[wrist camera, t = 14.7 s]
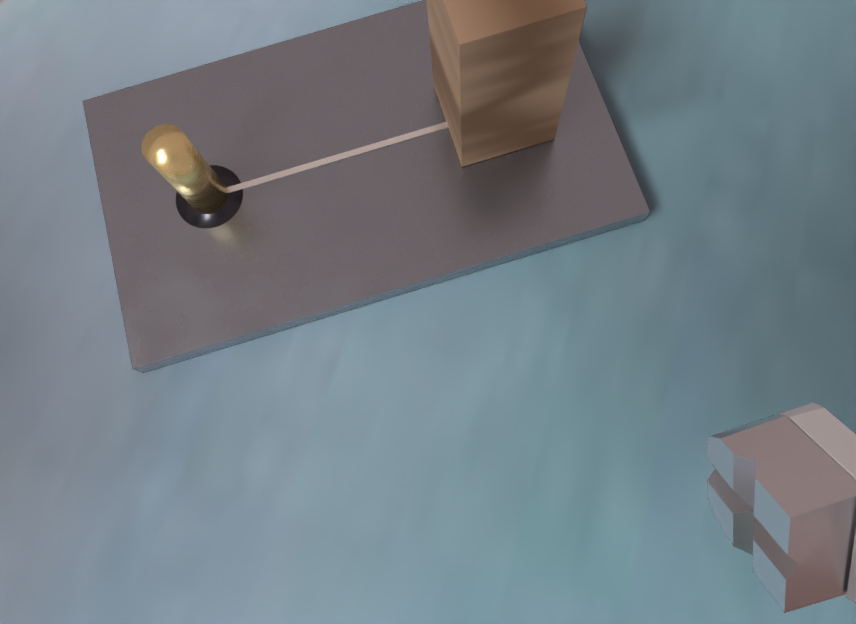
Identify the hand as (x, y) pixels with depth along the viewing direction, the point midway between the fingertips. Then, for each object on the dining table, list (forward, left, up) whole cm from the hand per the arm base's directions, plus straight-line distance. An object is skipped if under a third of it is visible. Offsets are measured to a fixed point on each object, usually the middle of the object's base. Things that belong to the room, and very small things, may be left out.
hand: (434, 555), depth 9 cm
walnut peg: (+7, +17, -19) cm, 26 cm away
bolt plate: (0, +17, -20) cm, 26 cm away
